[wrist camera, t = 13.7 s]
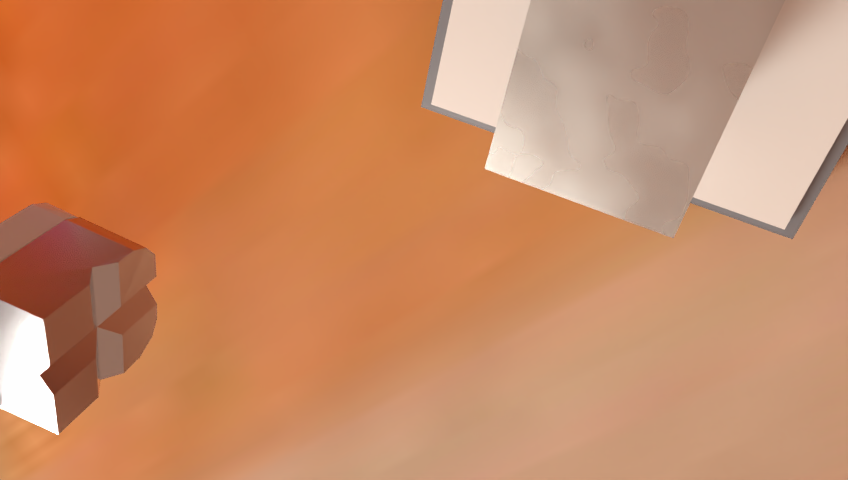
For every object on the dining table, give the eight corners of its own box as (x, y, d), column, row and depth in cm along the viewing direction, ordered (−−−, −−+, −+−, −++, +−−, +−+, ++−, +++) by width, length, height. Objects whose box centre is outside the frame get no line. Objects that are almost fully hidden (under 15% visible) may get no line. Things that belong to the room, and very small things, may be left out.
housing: (802, -112, 22) (806, -47, 15) (702, 114, 26) (673, 238, 20) (625, -159, 23) (562, -117, 16) (556, 66, 27) (484, 169, 20)
